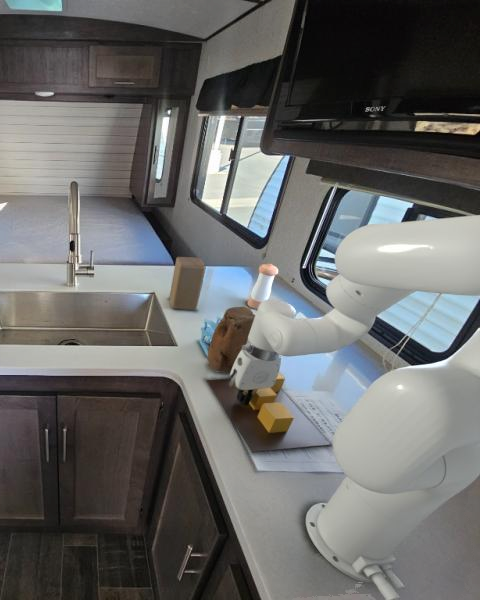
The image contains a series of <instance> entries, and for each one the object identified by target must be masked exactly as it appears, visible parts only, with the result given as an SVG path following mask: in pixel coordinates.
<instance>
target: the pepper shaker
mask: <svg viewBox="0 0 480 600" xmlns="http://www.w3.org/2000/svg"><path fill="white" fill-rule="evenodd" d="M278 274H279V268H278V267H277V266H275V265H273V264H272V263H263V264H261V265H259V267H258V277H257V280H256V282H255V284H254V286H253V288H252V291H251V294H250V295H249V296H248V301H247V303H246V304H247V305H248V306H249V307H250V308H252V309H255V310H257V309H258V307H259V305H260V303H261V302H263V301H264V300H268V299H270V298H269V297H270V295H271V292H272V285H273V281H274V278H275V276H277V275H278Z"/></svg>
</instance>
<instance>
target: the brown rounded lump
mask: <svg viewBox="0 0 480 600" xmlns="http://www.w3.org/2000/svg"><path fill="white" fill-rule="evenodd" d="M255 315H256V314H254V312H253V310H251V309H250V308H248V307H246V306H233V307H229V308H227V309H226V310H225V311H224V313H223V317H221V318H222V319H221V320H220V321H219V323H218V325H217V327H216V329H215V331H214V333H213V336H212V339H211V340H210V341H211V343H210V344H209V348H208V356H207V363H208V366H209V367H210V368H211V370H212V371H215V372H223V373H224V372H225V373H229V372H230V373H231V370H232V367H233V365H234V362H235V360H236V358H237V356H238V355H239V353H240V351H241V350H242V345H245V344H246V341H247V338H248V335H249V333H250V330H251V327H252V324H253V321H254V318H255Z"/></svg>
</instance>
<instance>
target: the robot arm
mask: <svg viewBox="0 0 480 600" xmlns="http://www.w3.org/2000/svg"><path fill="white" fill-rule="evenodd" d="M334 265H335V268H336V270H337V271H338V274H337V275H336V276H335V277H334V278H332V279H331V280H330V281H329V282H328V283H327V285H326V288H325V294H326V298H327V300H328V302H329V303H330V305H331V306H332V307H333V309H331V310H330V311H329V312H327V313H326V314H324V315H322V316H321V317H308V318H296V316H297V312H296V309H295V307H293V305H292V304H290V303H288V302H286V301H283V300H280V299H276V298H275V299H274V298H268V300H264V301H263V302H261V303H260V305H259V307H258V309H256V312H255V314H254V315H255V318H254V321H253V324H252V327H251V330H250V333H249V335H248V338H247V341H246V344H245V345H242V350H241V351H240V353H239V355H238V356H237V358H236V360H235V362H234V365H233V367H232V370H231V371H230V373H229V378H231V381H230V382H229V386H230V387H231V388H233V389H239V391H238V394H237V399H238V401H239V402H240V403H241V405H242V406H245V405H246V406H247V405H249V403H250V400H251V398H252V395H253V394H255V393H256V392H257V390H258V389H264V388H270V387H272V386H273V385H274V384H275V381H276V379H277V376H278V373H279V372H280V369H281V364H282V356H283V357H300V356H309V355H318V354H330V353H334V352H337V351H339V350H341V349H345V348H346V347H347V346H349V345H351V344H353V343H354V342H356V341H358V340H359V339H361V338H363V337H364V336H365V335H367V334H368V333H369V332H370V330H371V329H372V327H373V325H374V323H376V322H375V321H376V317H377V316H379V315H381V314H382V313H383V312H385V311H387V310H388V309H390V308H391V307H393V306H395V305H396V304H397V303H399V302H401V301H403V300H404V299H406V298H407V297H408V296H411V295H413V294H414V293H416V292H421V293H422V292H423V293H433V294H442V295H443V294H444V295H453V296H472V297H473V296H476V297H478V296H480V214H477V215H476V214H475V215H466V216H454V217H453V216H452V217H444V218H434V219H421V220H411V221H401V222H400V221H399V222H378V223H377V222H376V223H371V224H370V223H369V224H366V225H363V226H360V227H358V228H356V229H354V230H353V231H351V232H350V233H348V234H346V236H345V237H344V238H343V239H342V241H340V243H339V245H338V246H337V248H336V251H335V254H334ZM332 450H333V451H332V452H333V456H334V459H335V461H336V463H337V465H338V467H339V468H340V470H341V471H342V472H343V474H344V475H345V477H344V479H343V480H342V481H341V483H340V484H339V486H338V487H337V488H336V490H335V492H333V494H332V495H331V497H330V499H329V500H328V501H327V502H320V503H319V502H318V503H315V504H313V505H312V506H311V507H310V508H309V509H308V510H307V513H306V516H305V526H306V530H307V531H306V532H307V534H308V536H309V538H310V540H311V541H312V543H313V545H314V547H316V549H317V550H318V552H319V553H320V554H321V555H322V556H323V558H324V559H326V560H327V562H329V564H331V565H332V566H333V567H335V569H337V570H338V571H340V572H341V573H343V574H344V575H346V576H348V577H350V578H352V579H354V580H356V581H359V582H361V583H366V584H375V586H376V587H377V590H378V591H379V592H380V593H381V595H382V597H383V598H384V599H385V600H401V597H400V595H399V594H398V593H397V592H396V591H402V590H404V589H405V588H406V586H405V585H404V584H403V583H402V580H400V578H399V577H398V576H397V575H396V574H395V573H394V572H393V565H392V564H394V562H396V561H397V559H396V558H395V556H394V555H393V554H392V552H393V551H394V550H395V549H396V548H397V547H398V546H399V545H401V543H403V541H404V540H405V539H406V538H407V537H408V536H409V535H410V534H411V533H413V531H414V530H415V529H416V528H418V527H419V526H420V524H422V523H423V522H424V521H425V520H426V519H427V518H429V516H431V515H432V514H433V513H434V512H435V511H436V510H437V509H438V508H439V507H441V506H442V505H443V504H445V503H446V502H447V501H449V500H450V499H451V498H453V497H455V496H456V495H457V494H459V493H461V492H462V491H463V490H465V489H466V488H467V487H469V486H470V485H471V484H473V482H475V481H476V479H477V478H478V477H479V476H480V327H478V328H477V329H476V331H475V332H474V333H473V334H472V336H471V337H470V338H469V339H468V340H467V341H466V342H465V343H464V344H463V345H462V346H461V347H460V348H459V349H458V350H456V352H454V353H453V354H452V355H450V356H449V357H448V358H446V359H444V360H441V361H437V362H432V363H425V364H417V365H416V364H415V365H407V366H404V367H398V368H396V369H393V370H390V371H388V372H386V373H384V374H382V375H381V376H379V377H378V378H377V379H375V380H374V381H373V382H372V383H371V384H370V385H369V386H368V387H367V389H365V391H364V392H363V393H362V395H361V396H360V397H359V398H358V399H357V400H356V402H355V404H354V405H353V406H352V407H351V409H350V410H349V411H348V412H347V413H346V414H345V416H344V417H343V418H342V420H341V421H340V423H339V424H338V426H337V427H336V429H335V431H334V434H333V439H332ZM387 579H388V580H387ZM388 581H389V582H390V583H391V584H390V583H389V582H388Z"/></svg>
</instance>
